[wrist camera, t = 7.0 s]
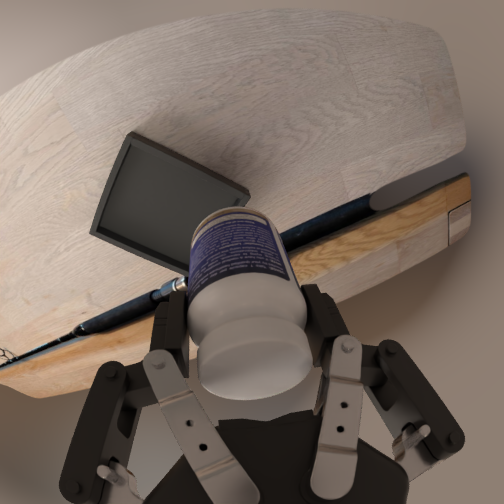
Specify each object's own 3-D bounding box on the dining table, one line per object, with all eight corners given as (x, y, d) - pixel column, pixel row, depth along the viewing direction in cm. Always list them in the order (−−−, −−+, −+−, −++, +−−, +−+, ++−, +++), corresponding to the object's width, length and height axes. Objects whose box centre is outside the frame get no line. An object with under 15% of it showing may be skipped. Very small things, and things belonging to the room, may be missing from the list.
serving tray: (94, 225, 34) (88, 233, 32) (131, 131, 28) (126, 134, 26) (196, 271, 40) (196, 280, 38) (248, 190, 34) (251, 197, 33)
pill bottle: (173, 248, 19) (156, 381, 10) (233, 185, 17) (257, 303, 8) (237, 290, 21) (256, 415, 13) (295, 239, 19) (351, 360, 11)
